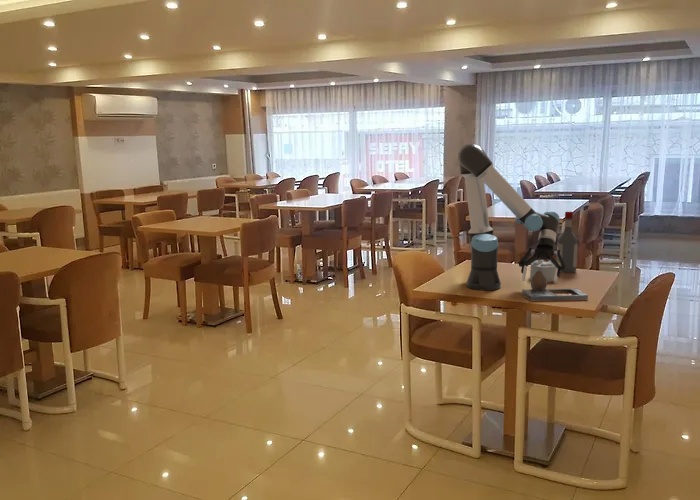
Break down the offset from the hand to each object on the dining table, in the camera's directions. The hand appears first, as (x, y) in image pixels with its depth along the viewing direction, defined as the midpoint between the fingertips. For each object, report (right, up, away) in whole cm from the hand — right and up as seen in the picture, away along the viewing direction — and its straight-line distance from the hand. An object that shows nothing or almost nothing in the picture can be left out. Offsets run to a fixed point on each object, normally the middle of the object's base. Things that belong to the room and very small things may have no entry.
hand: (538, 280), depth 272 cm
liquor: (+27, +3, +43) cm, 51 cm away
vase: (+1, -5, +3) cm, 6 cm away
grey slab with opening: (+4, -7, -8) cm, 11 cm away
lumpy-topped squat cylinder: (+9, -1, +26) cm, 28 cm away
